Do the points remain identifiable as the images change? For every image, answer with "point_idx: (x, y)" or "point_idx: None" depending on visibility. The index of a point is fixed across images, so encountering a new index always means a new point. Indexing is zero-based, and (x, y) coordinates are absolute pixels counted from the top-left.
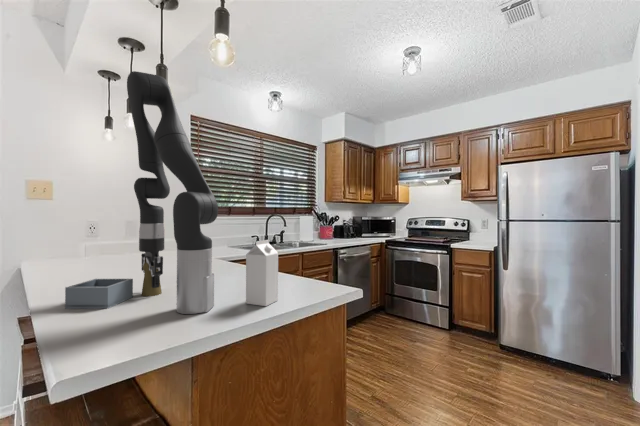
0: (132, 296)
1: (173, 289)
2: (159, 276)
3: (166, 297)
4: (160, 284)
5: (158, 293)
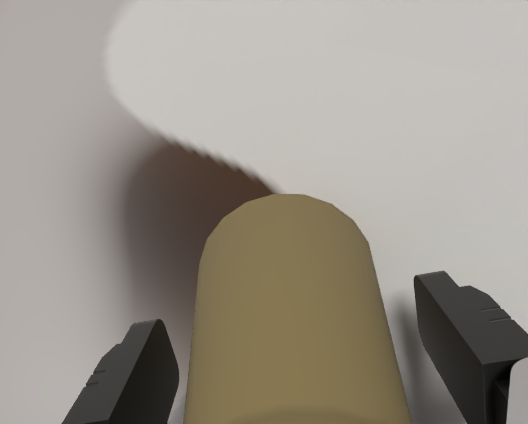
0: None
1: (192, 54)
2: (516, 353)
3: (524, 178)
4: (309, 241)
5: (359, 234)
